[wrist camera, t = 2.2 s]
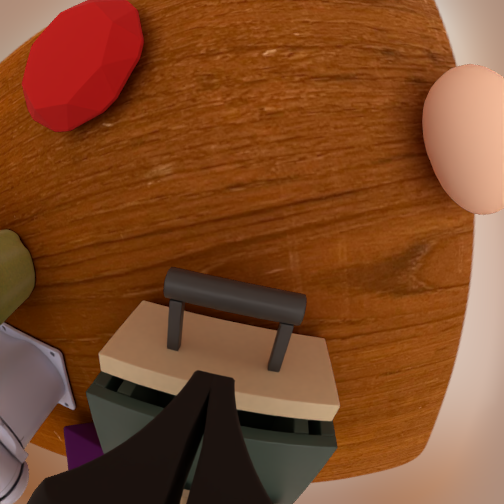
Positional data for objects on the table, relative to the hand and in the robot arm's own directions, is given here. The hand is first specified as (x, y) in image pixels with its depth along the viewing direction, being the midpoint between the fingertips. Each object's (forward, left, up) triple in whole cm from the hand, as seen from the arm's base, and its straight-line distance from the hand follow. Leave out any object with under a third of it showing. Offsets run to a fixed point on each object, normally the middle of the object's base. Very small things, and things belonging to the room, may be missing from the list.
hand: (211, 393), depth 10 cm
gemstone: (-12, +13, -9) cm, 20 cm away
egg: (+10, +16, -5) cm, 19 cm away
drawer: (0, -6, -8) cm, 9 cm away
